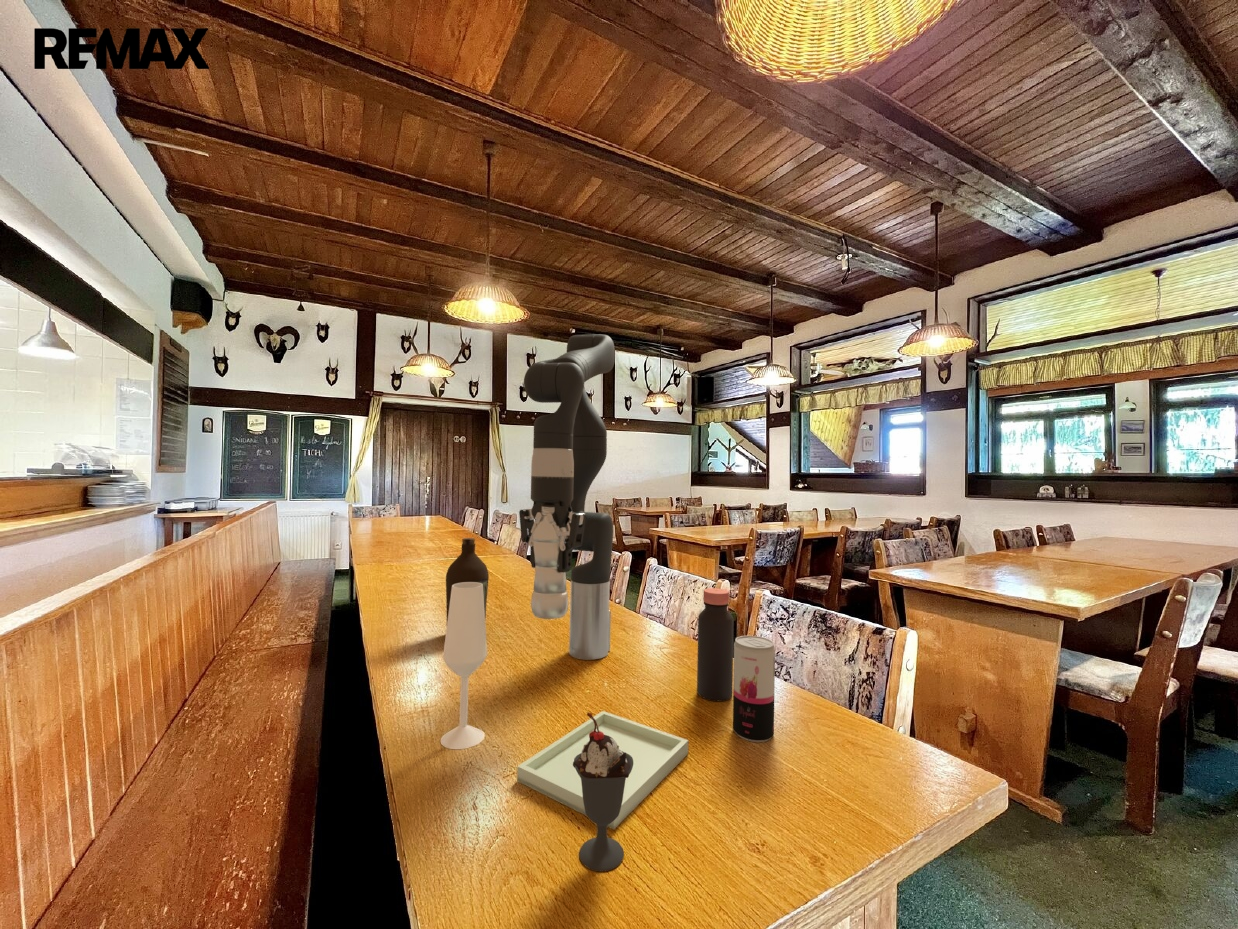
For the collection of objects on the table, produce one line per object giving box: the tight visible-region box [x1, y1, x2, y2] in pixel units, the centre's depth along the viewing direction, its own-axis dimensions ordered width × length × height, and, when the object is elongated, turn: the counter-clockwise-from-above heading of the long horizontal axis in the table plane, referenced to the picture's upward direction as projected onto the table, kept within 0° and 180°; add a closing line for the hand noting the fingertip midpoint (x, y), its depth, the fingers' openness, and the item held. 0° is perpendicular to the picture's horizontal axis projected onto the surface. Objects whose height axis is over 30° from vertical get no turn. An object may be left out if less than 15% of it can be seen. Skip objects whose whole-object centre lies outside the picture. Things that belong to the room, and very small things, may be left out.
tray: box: [516, 710, 689, 830], centre depth 71 cm, size 20×16×2 cm
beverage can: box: [732, 635, 776, 743], centre depth 82 cm, size 7×6×15 cm
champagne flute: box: [440, 582, 488, 750], centre depth 79 cm, size 7×7×24 cm
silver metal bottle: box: [530, 505, 570, 620], centre depth 88 cm, size 6×7×20 cm
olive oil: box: [445, 537, 489, 622], centre depth 128 cm, size 11×11×25 cm
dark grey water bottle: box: [696, 587, 735, 702], centre depth 97 cm, size 7×7×20 cm
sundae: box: [573, 712, 633, 872], centre depth 55 cm, size 7×7×15 cm
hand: (550, 569), depth 88 cm, fingers closed on silver metal bottle, 6 cm apart
